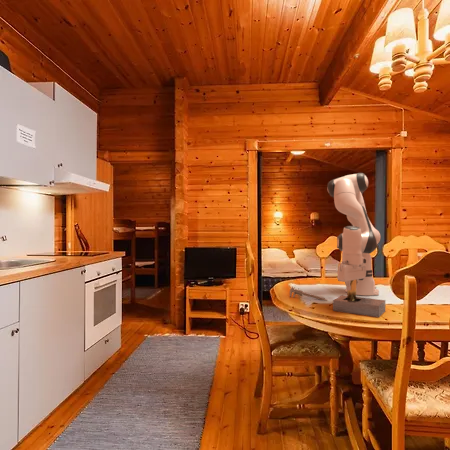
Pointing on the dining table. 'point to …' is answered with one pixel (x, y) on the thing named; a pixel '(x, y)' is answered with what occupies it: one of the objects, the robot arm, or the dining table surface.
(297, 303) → the dining table surface
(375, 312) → the block
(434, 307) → the dining table surface
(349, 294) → the block
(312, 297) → the caliper
